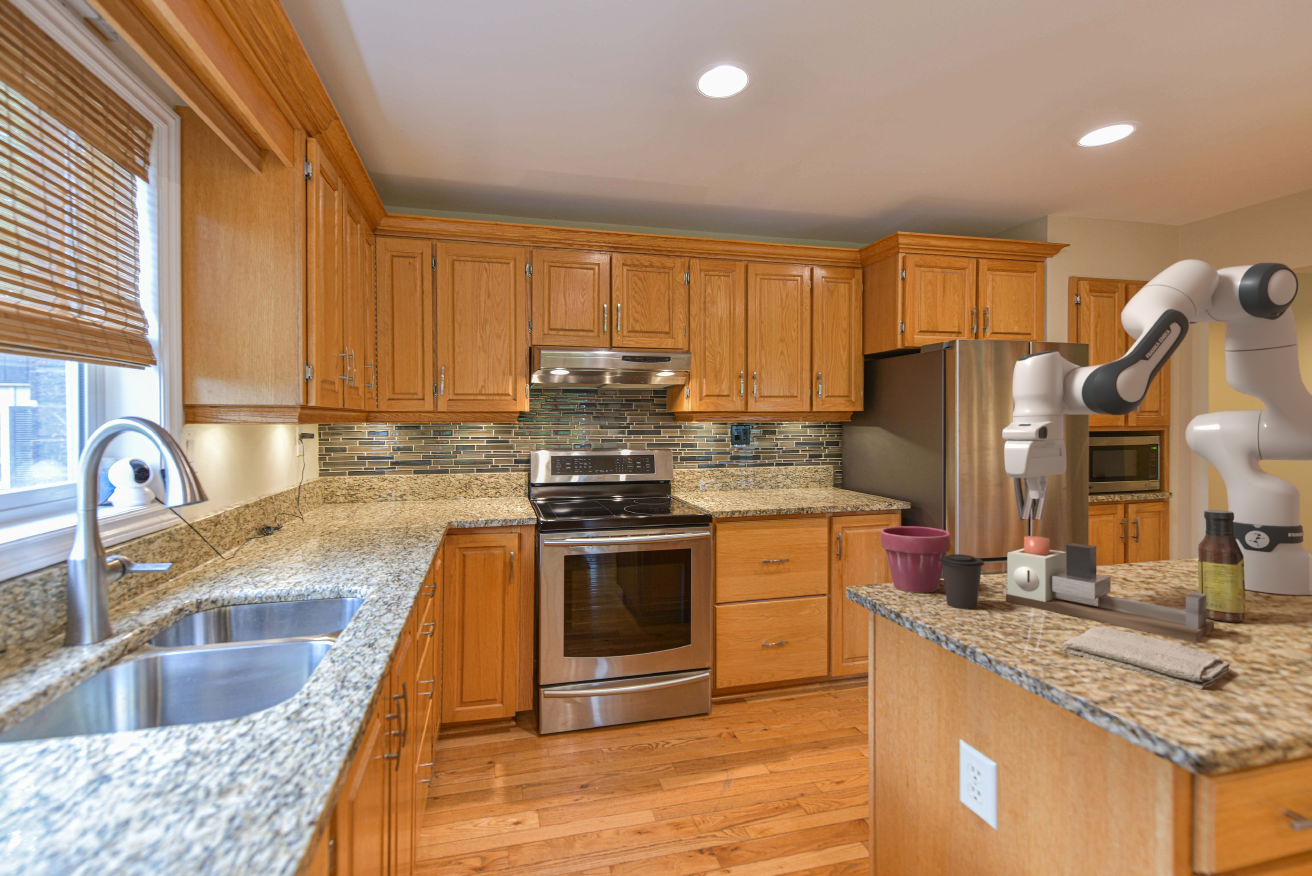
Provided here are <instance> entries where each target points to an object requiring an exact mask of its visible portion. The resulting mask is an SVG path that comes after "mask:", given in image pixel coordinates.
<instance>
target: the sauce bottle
mask: <svg viewBox="0 0 1312 876" xmlns="http://www.w3.org/2000/svg"><path fill="white" fill-rule="evenodd" d="M1203 516H1204V519H1205V535H1204V538H1202V540H1200V543H1199V544H1198V548H1197V549H1198V560H1197V571H1198V572H1197V573H1198V593H1200V594H1206V619H1209V620H1214V621H1219V622H1226V623H1227V622H1228V623H1229V622H1230V623H1240V622H1244V621H1245V613H1246V610H1247V609H1246V589H1245V582H1244V580H1245V578H1244V556H1243V554H1242V552H1241V550H1240V548H1239V545H1238V543H1237V541H1236V539H1235V537H1234V532H1233V520H1234V513H1233V512H1231V511H1228V510H1214V509H1211V510H1210V509H1208V510H1204V513H1203Z"/></svg>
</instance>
